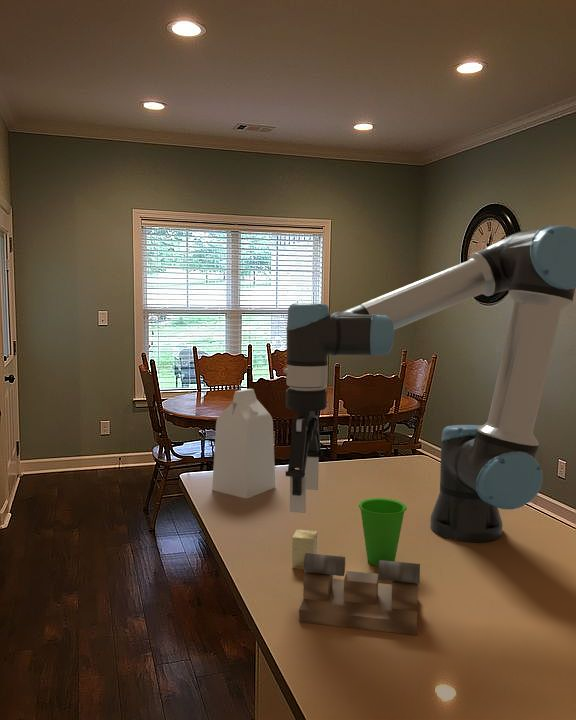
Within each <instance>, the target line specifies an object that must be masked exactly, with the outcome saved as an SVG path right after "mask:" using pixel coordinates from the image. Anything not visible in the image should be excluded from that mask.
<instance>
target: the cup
mask: <svg viewBox="0 0 576 720" xmlns="http://www.w3.org/2000/svg"><path fill="white" fill-rule="evenodd" d="M358 508H359V510H360V513H361V520H362V521H361V523H362V529H363V535H364V543H365V545H364V546H365V552H366V558H367V561H368V562H369V564H371V565H373V566H376V567H379V560H384V561H394V562H396V557H397V551H398V545H399V540H400V536H401V531H402V526H403V520H404V515H405V512H406V511H407V505H406V504H405V503H403V502H401V501H399V500H396V499H392V498H385V497H384V498H383V497H382V498H381V497H374V498H373V497H371V498H367V499H363V500H361V501H360V502H359V503H358Z"/></svg>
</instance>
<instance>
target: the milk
mask: <svg viewBox="0 0 576 720" xmlns="http://www.w3.org/2000/svg"><path fill="white" fill-rule="evenodd" d="M255 392H256V391H255V389H254V388H246V389H240V390H235V391H234V394H233V398H232V402H231V403H230V405H228V406H227V407H226V408H225V409H224V411H222V413H220V415H218V417H217V418H216V422H215V432H214V433H215V437H214V450H213V452H214V453H213V454H214V455H213V470H212V485H211V486H212V487H211V488H212V489H211V490H212V491H215V492H219V493H221V494H226V495H230V496H234V497H238V498H241V499H250V498H252V497H254V496H257V495H260V494H261V493H262V494H263V493H264V492H267V491H269V490H272V489H275V488H276V467H275V463H276V462H275V443H274V441H275V438H274V437H275V436H274V421H273V420H274V419H273V417H272V415H271V414H270V413H269V411H268V410H267V408H265V406H264V405H263V404H262V403H261V402H260V401H259V399H257V396H256V393H255Z"/></svg>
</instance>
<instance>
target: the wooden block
mask: <svg viewBox="0 0 576 720" xmlns="http://www.w3.org/2000/svg"><path fill="white" fill-rule="evenodd" d="M291 539H292V548H291V550H292V551H291V553H292V555H291V560H292V561H291V562H292V563H291V568H292V569H295V568H297V570H304V558H305V554H306V553H310V554H318V531H316V530H307V529H296V530H295V532H294V534H293V535H292V538H291Z"/></svg>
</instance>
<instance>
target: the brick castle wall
mask: <svg viewBox="0 0 576 720" xmlns="http://www.w3.org/2000/svg"><path fill="white" fill-rule="evenodd" d="M377 570H378V573H372V572H362V571H353V570H352V571H351V570H346V556H341V555H340V556H339V555H330V554H329V555H327V554H320V553H319V554H318V553H317V554H310V553H306V554H305V558H304V569H303V572H304V573H305V574H304V576H303V599H302V601H301V605H300V606H299V609H298V613H299V615H298V617H299V618H298V622H302V623H310V624H317V625H325V626H326V625H328V626H334V627H344V628H350V629H351V628H352V629H361V630H369V631H376V632H377V631H378V632H384V633H385V632H386V633H394V634H403V635H409V636H410V635H413V636H417V634H418V633H417V632H418V604H419V603H418V601H419V600H418V599H419V584H421V583H420V578H421V577H420V576H421V564H420V563H415V562H414V563H413V562H404V561H402V562H401V561H384V560H379V566H378V569H377ZM334 576H339V577H344V578H343V579H341V578H334ZM379 581H388V582H392V583H390V584H389V583H383V582H382V583H381V582H380V583H379Z"/></svg>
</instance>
